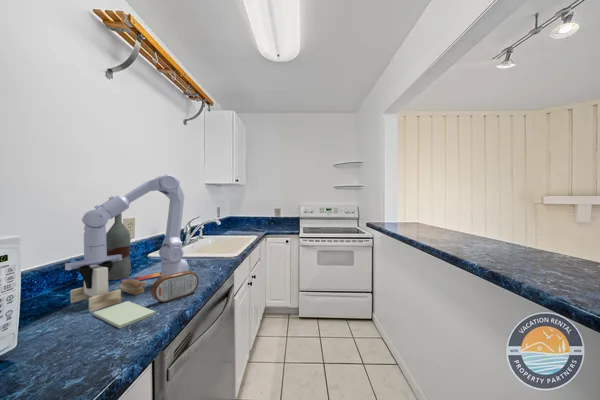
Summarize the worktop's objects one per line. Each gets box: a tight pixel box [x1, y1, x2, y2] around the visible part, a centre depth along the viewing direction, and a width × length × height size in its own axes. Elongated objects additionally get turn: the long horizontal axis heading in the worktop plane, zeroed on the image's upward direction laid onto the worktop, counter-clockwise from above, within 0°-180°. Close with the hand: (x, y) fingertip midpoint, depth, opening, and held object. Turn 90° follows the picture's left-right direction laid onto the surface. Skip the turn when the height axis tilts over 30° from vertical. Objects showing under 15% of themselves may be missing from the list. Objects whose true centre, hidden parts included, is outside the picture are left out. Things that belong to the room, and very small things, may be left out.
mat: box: [92, 300, 156, 329], centre depth 69 cm, size 9×16×1 cm, turn 60°
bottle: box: [106, 213, 132, 281], centre depth 106 cm, size 9×9×30 cm
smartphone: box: [120, 271, 161, 284], centre depth 103 cm, size 7×15×1 cm, turn 128°
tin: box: [150, 270, 200, 303], centre depth 81 cm, size 15×3×8 cm, turn 141°
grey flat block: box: [83, 264, 109, 297], centre depth 78 cm, size 3×10×9 cm, turn 60°
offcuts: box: [119, 279, 146, 296], centre depth 88 cm, size 3×11×4 cm, turn 61°
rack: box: [70, 286, 122, 313], centre depth 78 cm, size 8×15×4 cm, turn 60°
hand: (95, 286), depth 78 cm, fingers closed on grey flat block, 3 cm apart
